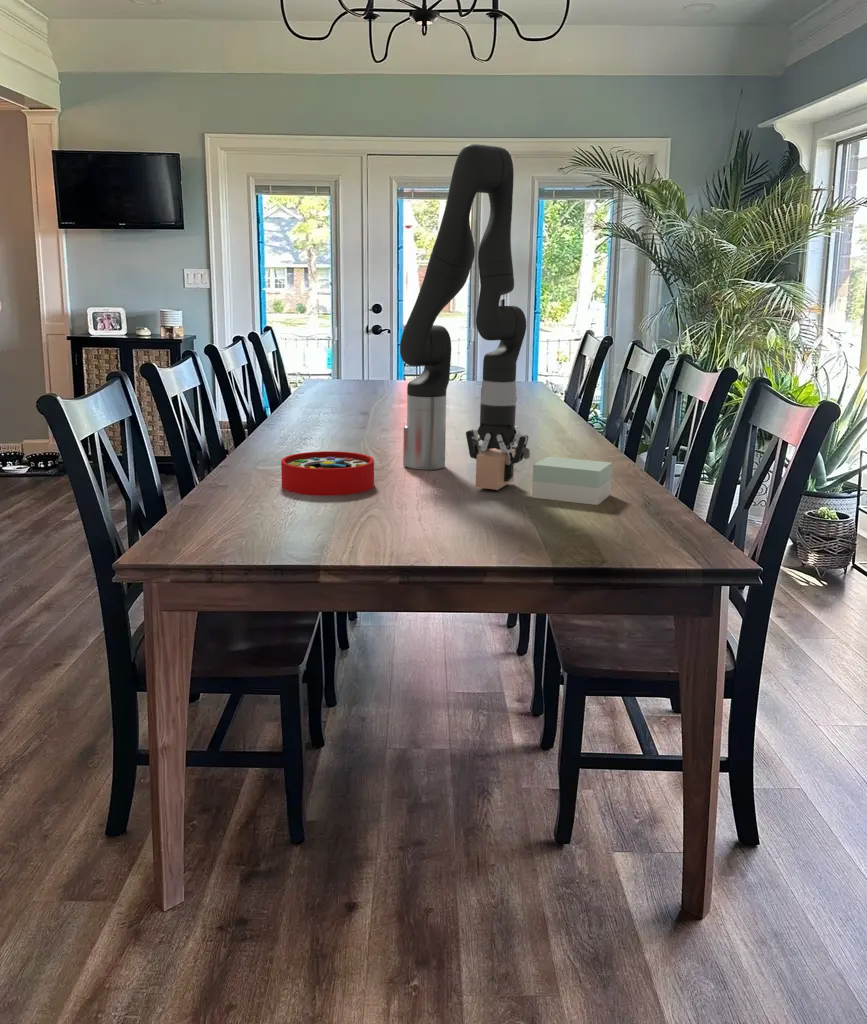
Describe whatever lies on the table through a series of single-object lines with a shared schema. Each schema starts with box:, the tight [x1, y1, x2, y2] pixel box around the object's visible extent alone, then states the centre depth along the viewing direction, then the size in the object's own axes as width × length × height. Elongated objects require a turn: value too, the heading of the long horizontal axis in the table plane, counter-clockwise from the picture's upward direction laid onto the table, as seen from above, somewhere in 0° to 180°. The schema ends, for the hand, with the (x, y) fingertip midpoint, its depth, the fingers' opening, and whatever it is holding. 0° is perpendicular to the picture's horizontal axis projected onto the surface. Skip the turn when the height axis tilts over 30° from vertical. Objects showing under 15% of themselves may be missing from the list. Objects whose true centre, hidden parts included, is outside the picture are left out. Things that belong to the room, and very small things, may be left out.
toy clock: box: [280, 450, 375, 497], centre depth 202 cm, size 20×6×20 cm
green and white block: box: [531, 456, 613, 506], centre depth 195 cm, size 14×10×7 cm
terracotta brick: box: [475, 448, 515, 491], centre depth 202 cm, size 5×10×7 cm, turn 155°
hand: (495, 479), depth 202 cm, fingers closed on terracotta brick, 5 cm apart
